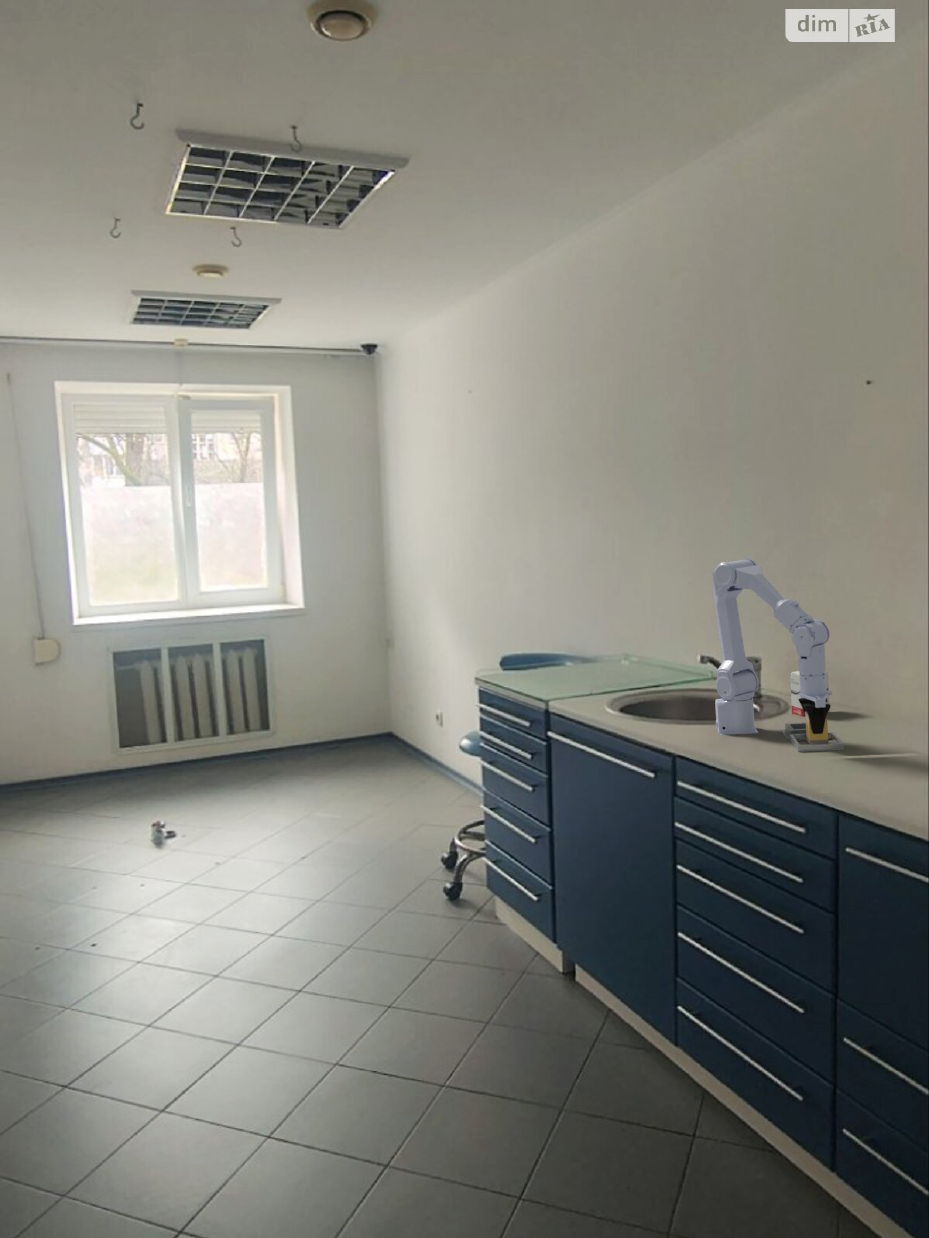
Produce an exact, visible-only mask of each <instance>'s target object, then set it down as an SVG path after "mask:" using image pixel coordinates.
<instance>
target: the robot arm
mask: <svg viewBox="0 0 929 1238" xmlns="http://www.w3.org/2000/svg"><path fill="white" fill-rule="evenodd" d="M711 574H712V580H713V590H712V598H713V602H714V604H713V605H714V611H715V615H716V616H715V617H716V623H717V629H718V636H719V644H720V647H721V648H720V650H721V655H722V663H721V664H720V666H719V667H718V669H717V670H716V676H717V677H716V681H715V688H716V691H717V694H718V695H719V696H720V697H721V698H716V699H715V701H714V702H715V704H714V705H715V719H716V720H715V727H716V729H717V732H718V734H719V735H721V736H722V735H725V736H726V735H740V734H741V735H742V734H743V735H744V734H746V735H747V734H758V733H759V731H758V730H757V727H756V725H755V710H754V709H755V708H754V697H755V696H756V695H755V692H757V690H758V689H759V687H760V686H759V685H760V681H759V678H758V675H757V673H756V671H755V667H754V664H753V663H752V662H751V661H749V660H747V658H746V654H745V653H746V652H745V646H744V640H743V634H742V627H741V621H740V614H739V613H740V612H739V608H738V601H737V597H739V596H740V595H741V593H742V591H743V590H746V589H747V590H751V591H752V592H753V593H755V594H756V596H758V598H760V599H762V601H764V602H765V603H766V604H767V605H768V606H769V607H771V608H772V609H773V617H774V618H775V619H776V620H777V621H778V622H779V623H780V624H781V625H782V626H783V627H784V628H785V629H786V630H787V631H788V632H789V633H790V635H791V641H792V643H793V644H794V646H795V649H796V654H797V656H798V671H799V675H800V697H802V698H800V699H798V700H799V702H800V704H801V706H802V708H803V710H804V713H805V711H807V713H808V716H809V720H810V725H811V729H812V732H813V734H822V733H823V730H824V724H825V719H826V716H827V717H828V713H829V712H828V711H829V710H830V709H831V706H832V705H831V704H830V703H829V704H825V699H826V698H827V696H828V695H829V696H832V695H833V691H832V690H829V691H827V685H826V672H827V670H826V667H827V666H826V650H825V649H826V648H825V647H826V646H825V644H826V643H828V642H829V639H830V630H829V627H828V626H827V625H826V623H825V622H824V621H822V620H819V619H814V618H813V617H812V616H811V615H809V613H808V612H806V611H805V610H804V609H803V608H802V607H801V606H800V603H799V602H798V601H797V600H793V599H785V598H784V596H783V595H782V594H781V593H780V592H779V591H778V590H777V589H776V587H775V586H774V585H773V584H772V583H771V581H769V580H768V579H767V577H766V576H765V575H764V574H763V571H762V567H761V566H759V564H757V563H756V561H755V560H753V559H752V558H744V559H740V560H734V561H725V562H719V564H718V565H717V566H716V567H715V568H714V570H712V573H711ZM759 734H760V733H759Z"/></svg>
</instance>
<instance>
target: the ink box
mask: <svg viewBox="0 0 929 1238" xmlns="http://www.w3.org/2000/svg"><path fill="white" fill-rule="evenodd" d="M826 685H827V691H830V689H829V687H830V685H829V672H828V671H826ZM790 697H791V698H790V700H791V701H790V704H791V714H792V715H796V716H800V717H805V713H804V710H803V708H802V706H801V704H800V702H799V700H798V699H800V698H802V697H800V675H799V670H796V671H792V672H790ZM825 704H830V695H828V696H827V698H826V699H825ZM828 713H830V709H829V711H828Z"/></svg>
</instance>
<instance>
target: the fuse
mask: <svg viewBox="0 0 929 1238" xmlns="http://www.w3.org/2000/svg"><path fill="white" fill-rule="evenodd" d="M804 717H805V722H806V738H807V740H806V741H807V743H808V745H809V744H829V739H828V733H829V731H828V730H829V728H828V715H827V716H826V719H825V724H824V730H823V733H822V734H813V732H812V729H811V725H810V720H809V716H808V713H807V711H805V716H804Z"/></svg>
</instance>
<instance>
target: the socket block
mask: <svg viewBox="0 0 929 1238" xmlns="http://www.w3.org/2000/svg"><path fill="white" fill-rule="evenodd" d="M780 732H781V733H782V735H783V736H784V738H785V739H786V740H790V734H806V721H805V722H787V723H784V729H783V728H782V729H780Z"/></svg>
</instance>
